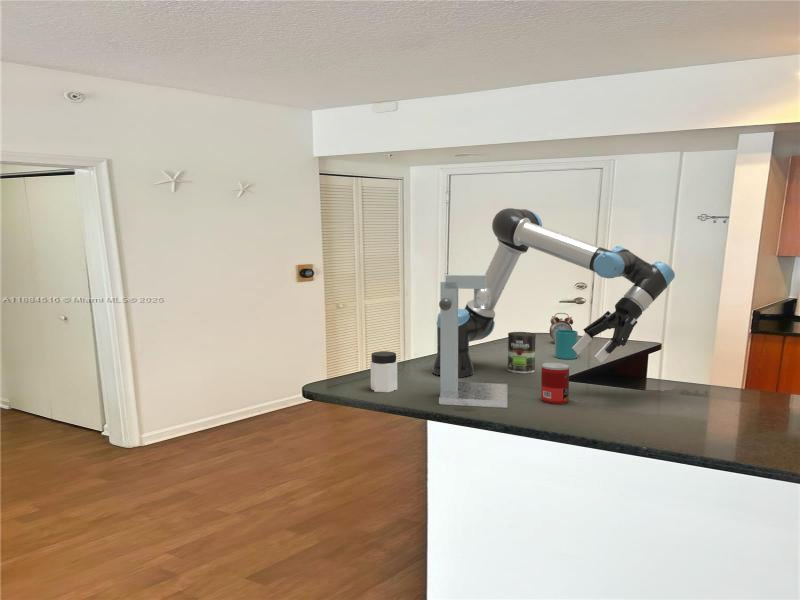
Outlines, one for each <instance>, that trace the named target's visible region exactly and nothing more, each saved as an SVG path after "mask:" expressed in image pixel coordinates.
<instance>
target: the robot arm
mask: <svg viewBox="0 0 800 600" xmlns="http://www.w3.org/2000/svg"><path fill="white" fill-rule="evenodd" d="M491 229H492V232H493V234H494V236H495V237H496V240H497V241H498V242H497V243H498V247H497V249H496V251H495V253H494V254H493V257H492V259H491V261H490V264H489V265H488V267H487V269H486V272H485V274H484V275H486V288H490V308H487V309H478V308H474V298H473V299H471V300H468V301H467V302H466V305H465V307H464V308H458V378H466V377H465V376H467V377H470V376H469V375H471V376H473V375H474V365H473V362H472V359H471V356H470V355H471V354H470V351H469V350H470V342H475V341H479V340H484V339H485V338H487V337H488V336H490V335H491V334H492V332H493V330H494V329H495V324H496V323H495V320H494V319H495V317H496V312H495V308H496V305H497V303H498V301H499V299H500V297H501V295H502V293H503V291H504V289H505V287H506V285H507V283H508V281H509V279H510V277H511V275H512V273H513V271H514V269H515V266H516V265H517V263H518V260H519V258H520V256H521V255H522V254H525V253H527V252H528V250H529V248H531V249H534V250H536V251H538V252H541V253H545V254H547V255H550V256H552V257H554V258H558V259H560V260H563V261H566V262H568V263H571V264H573V265H577V266H579V267H582V268H583V269H587V270H589V271H592V272H593V273H596V274H597V275H598V276H599V277H601V278H604V279H614V278H620V277H622V278H625V279H626V280H627V281H629V282H630V283H632V284H633V285H632V286H631V287H630V288H629V289H628V290H627V291H626V292H625V294H623V297H621V298H620V299H619V300H618V301H617V302H616V303H615V304H614V308H615V311H613V312H612V313H611V312H610V311H609V310H607V311H606V312H605V313H604V314H603V315H602V316H600V317H599V318H598V319H596V320H594V321H593V322H592V323H590V324H589V325H587V326H586V327H585V328H583V332H584V334H583V335H582V336H581V337H580V338H579V339H578V342H577V343H576V344H575V345H574V346H573V347H572V349H573V350H574V351H575V352H576V353H577V355H579V354H580V353H582V351H583V350H584V349H585V348H586V347H587V345H588V344H590V342H591V341H592V340H594V337H596V336H597V335H599V334H601V333H604V332H605V331H607V330H611V329H613V335H612V337H611V338H610V339H609V340H608V341H607V342H606V343H605V344H604V345H603V347H601V349H600V350H599V351H598V352H597V353H596V354H595V355H594V358H595V359H596V360H597V361H598V362H599V363H600V364H602V363H603V362H604V361H605V360H606V359H607V358H608V357H609V356H610V354H611V353H612V352H613V351H615V349H616V348H619V347H620V346H622V347H625V346H626V344H627V343H628V341H629V338H630V336H631V333H632V332H633V330H634V328H635V326H636V325H637V324H638V319H639V318H640V317H641V316H642V314H643V312H645V311H646V310H647V309H649V307H650V305H652V304H653V302H654V301H655V300H656V299H658V297H659V296H660V295H661V294H662V293H663V292H664V291H665V290H666V289H667V288H668V286H669V285H670V284H671V283H672V281H673V280H674V279H675V277H676V274H675V271H674V269H673V268H672V267H671V266H670V265H669V264H667V263H665V262H662V261H660V260H657V261H654V262H653V263H652V264H651V263H650V262H647V261H645V260H643V258H641V257H639V256H637V255H636V254H634V253H633V252H632V251H630V250H629V249H627V248H624V247H623V246H622V245H621V246H620V245H617V246H615V247H612V249H611V250H609V249H606V248H603V247H601V246H598V245H596V244H593V243H589V242H587V241H585V240H581V239H578V238H575V237H572V236H569V235H567V234H564V233H560V232H558V231H556V230H553V229H550V228H547V227H544V226H543V222H542V220H541V217H539V215H538V214H537V213H536V212H534V211H531V210H529V209H526V208H524V209H523V208H521V209H520V208H513V207H509V208H508V207H506V208H503V209H501V210H500V211H498V212H497V213H496V214H495V215H494V218H493V220H492V223H491ZM436 329H437V331H436V334H437V336H436V343H437V344H436V345H437V346H436V347H437V353H436V355H435V359H434V362H433V365H432V374H433V373H434V374H433V375H435V374H436V375H435V376H437V375H440V312H439V313H438V315H437V321H436ZM472 374H473V375H472Z"/></svg>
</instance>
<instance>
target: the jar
mask: <svg viewBox="0 0 800 600" xmlns="http://www.w3.org/2000/svg"><path fill="white" fill-rule="evenodd" d="M370 357H371V358H370V359H371V360H370V389H371V390H372V391H373V390H374V391H373V392H375V393H391V392H395V391H398V361H397V353H396V352H395V351H390V350H389V351H386V350H383V351H381V350H380V351H374V352H372V353H371V356H370ZM394 390H395V391H394Z"/></svg>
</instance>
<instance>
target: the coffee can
mask: <svg viewBox="0 0 800 600" xmlns="http://www.w3.org/2000/svg"><path fill="white" fill-rule="evenodd" d="M536 337H537V334H536V333H534V332H528V331H512V332H508V333H507V338H508V339H507V340H508V341H507V371H508V370H509V371H508V372H510V371H511V372H510V373H514V374H532V373H535V371H536Z"/></svg>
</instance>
